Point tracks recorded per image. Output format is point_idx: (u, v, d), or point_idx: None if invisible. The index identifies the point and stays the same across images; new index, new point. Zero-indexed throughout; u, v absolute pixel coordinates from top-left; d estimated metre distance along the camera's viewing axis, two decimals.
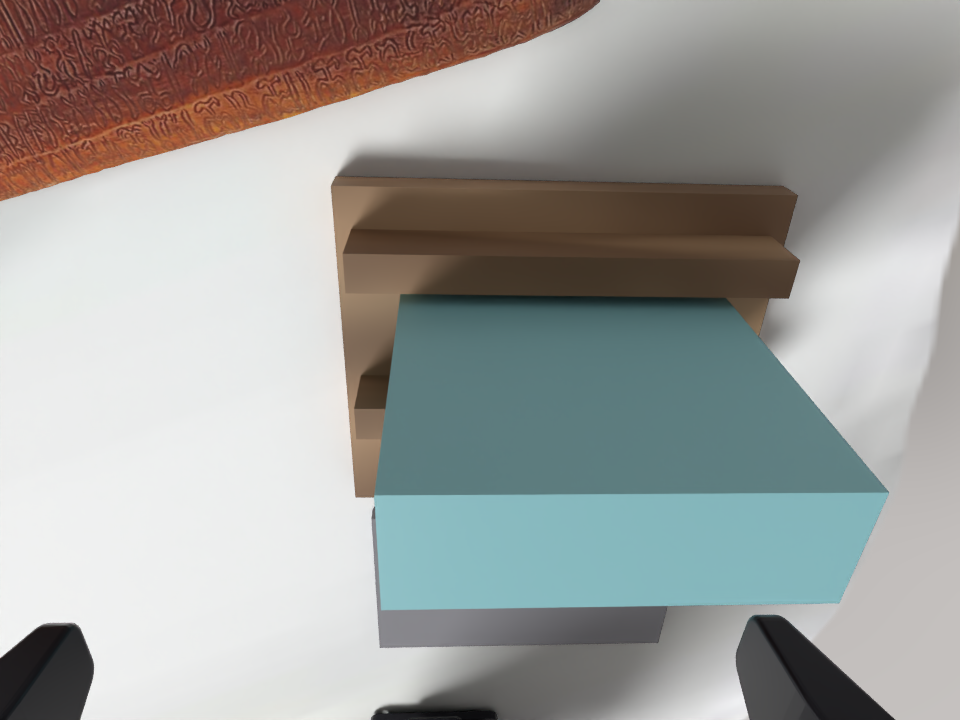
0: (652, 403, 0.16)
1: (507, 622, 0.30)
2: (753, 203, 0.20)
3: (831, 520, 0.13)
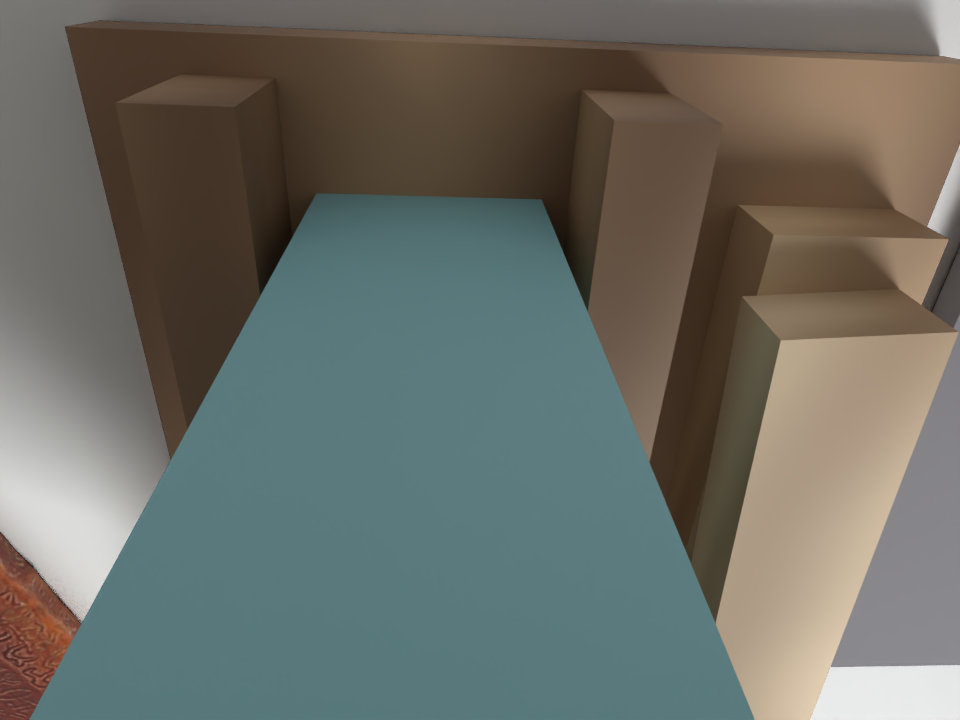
0: None
1: None
2: (113, 136, 0.09)
3: None
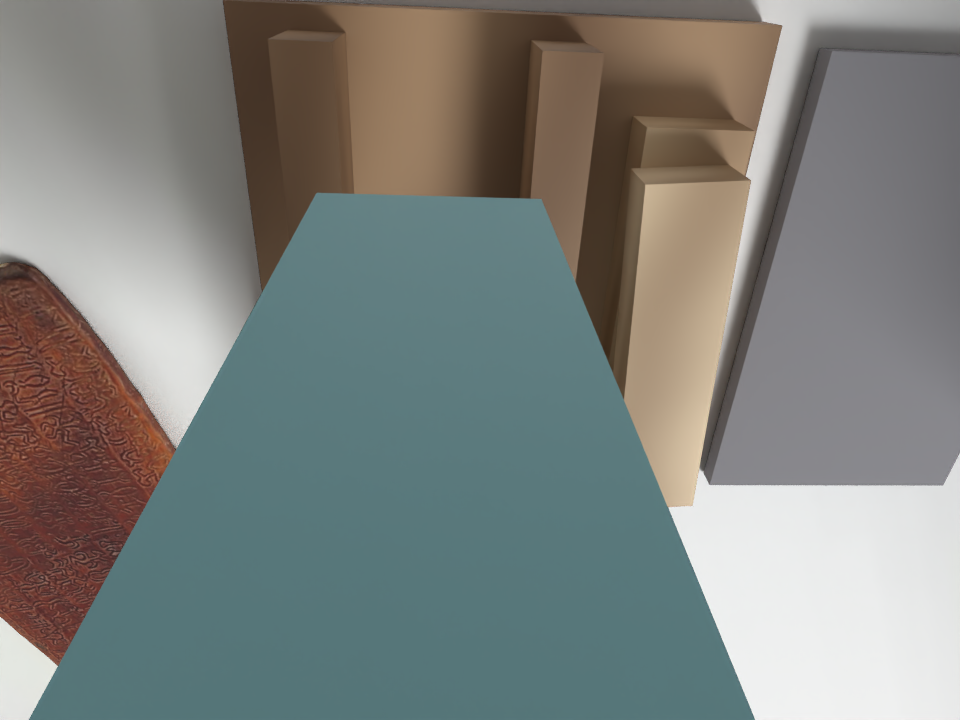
0: None
1: None
2: (244, 69, 0.15)
3: None
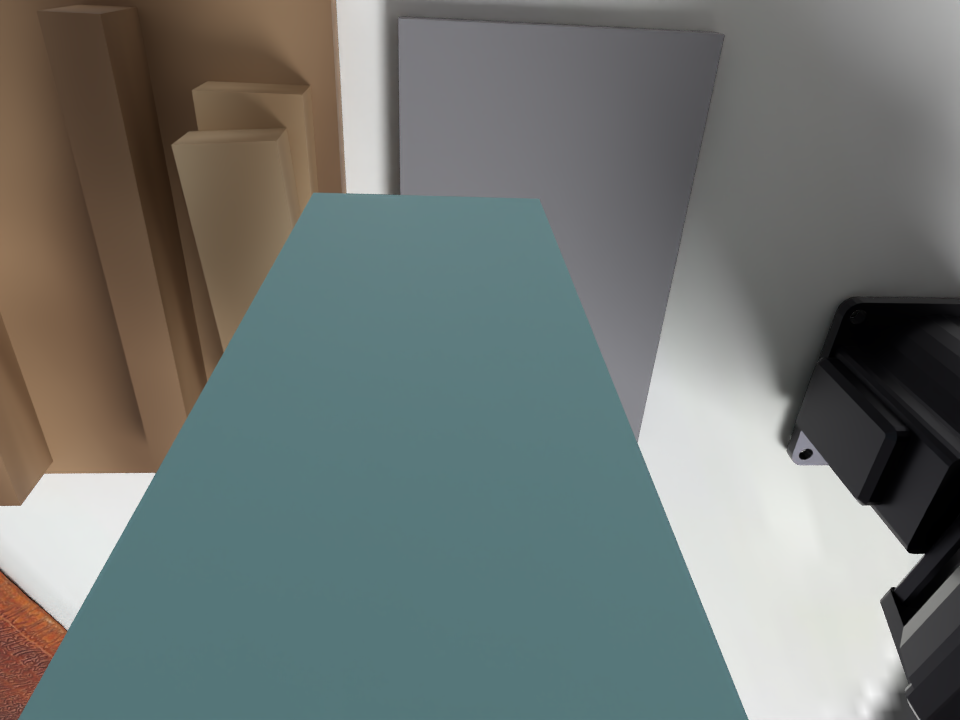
0: None
1: (614, 297, 0.20)
2: None
3: None
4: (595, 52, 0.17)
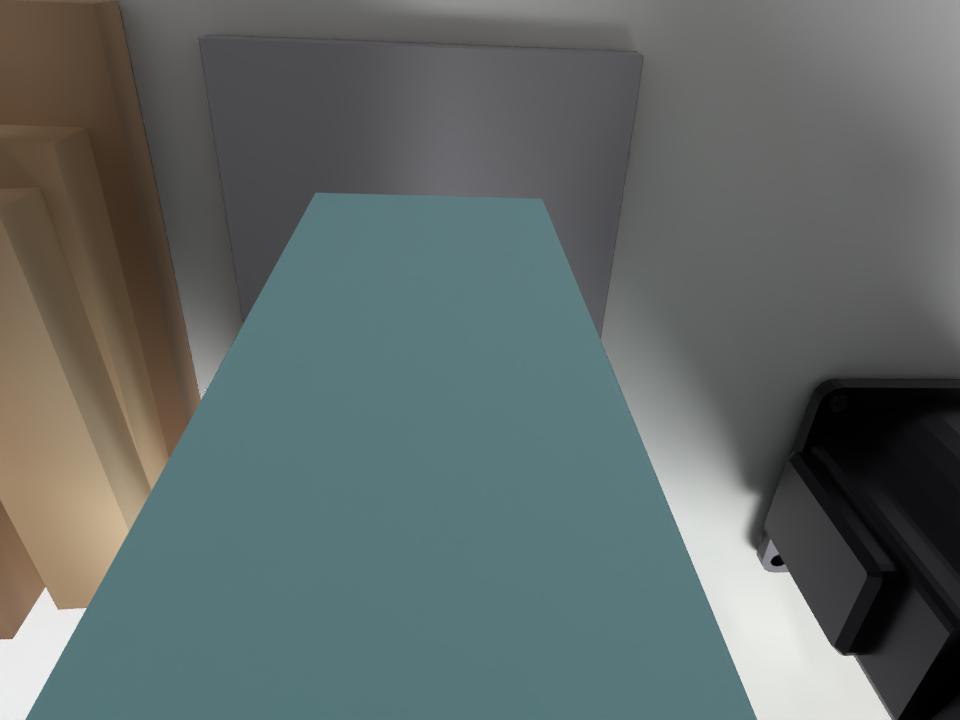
0: None
1: None
2: None
3: None
4: (470, 80, 0.12)
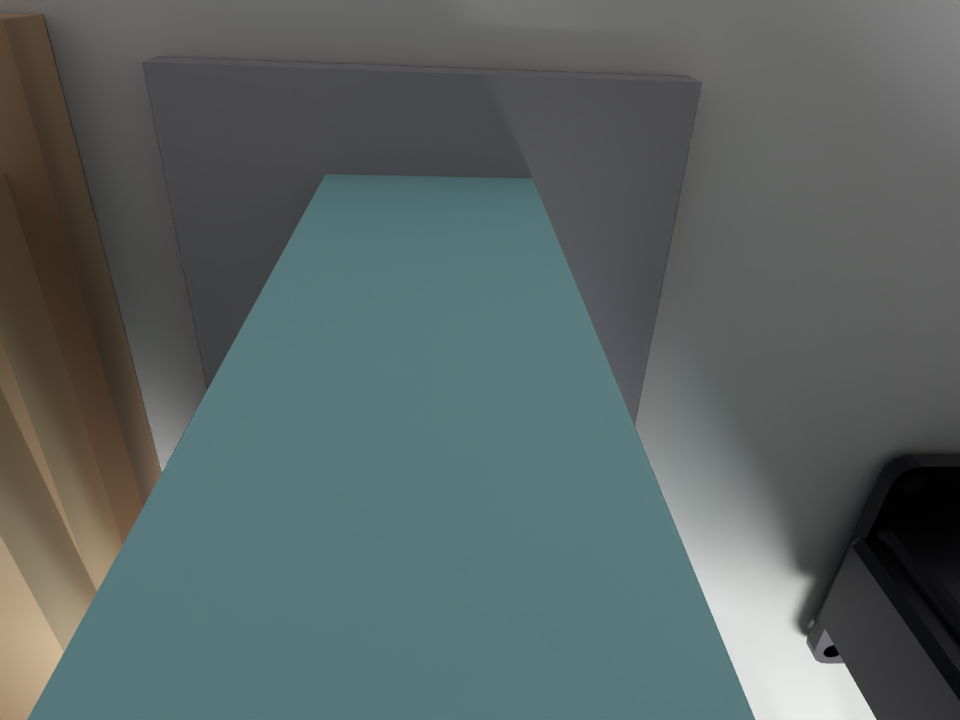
0: None
1: None
2: None
3: None
4: (485, 113, 0.10)
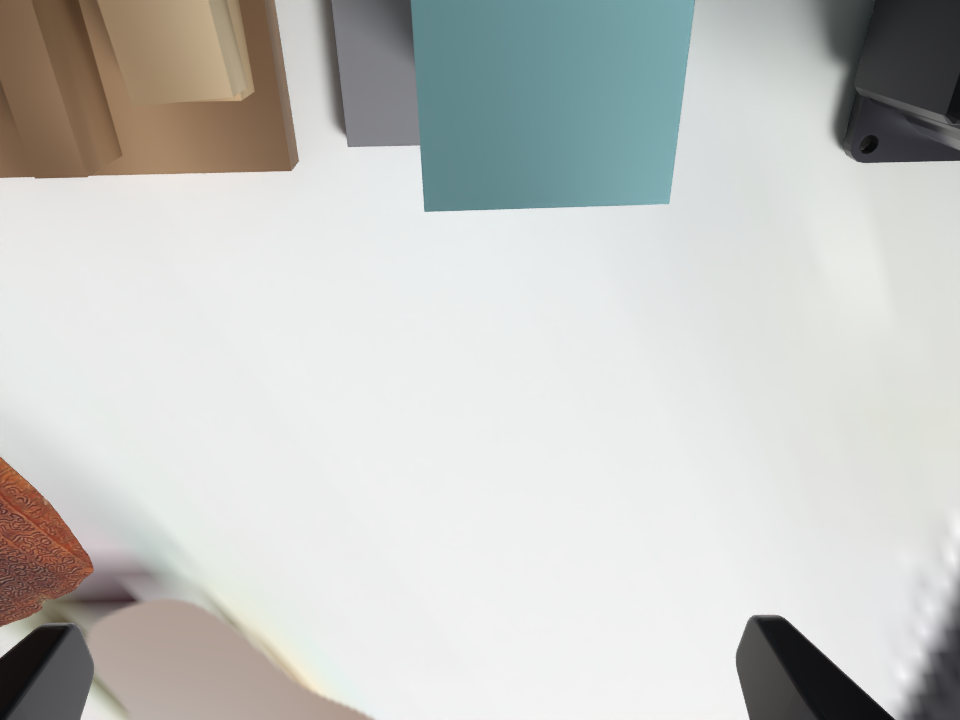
0: None
1: None
2: None
3: None
4: None
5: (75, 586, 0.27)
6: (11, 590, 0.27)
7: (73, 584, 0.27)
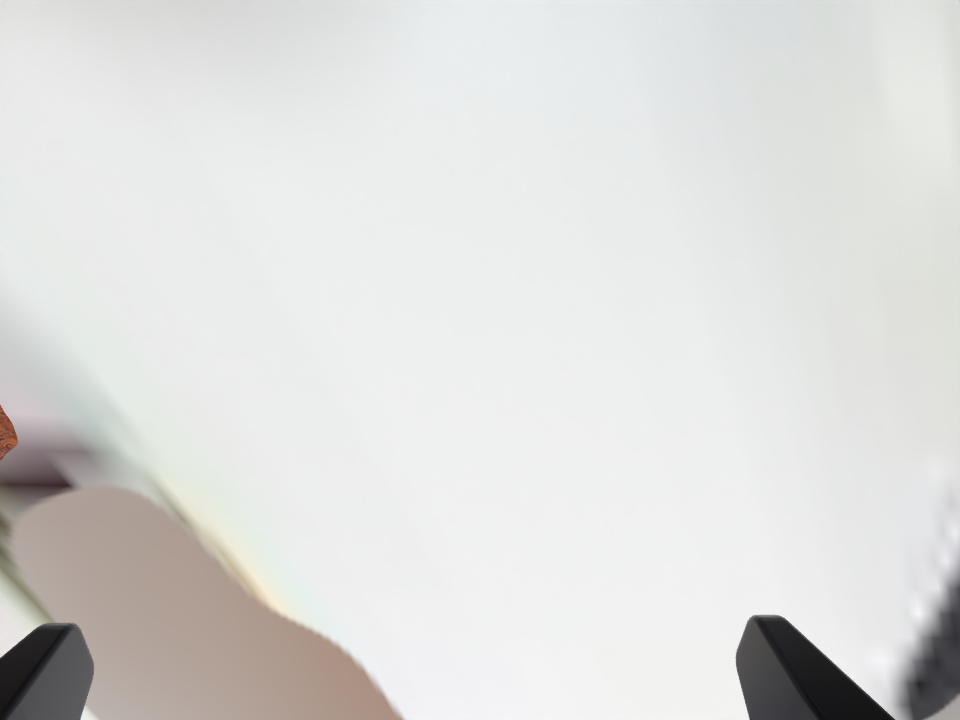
0: None
1: None
2: None
3: None
4: None
5: None
6: None
7: None
